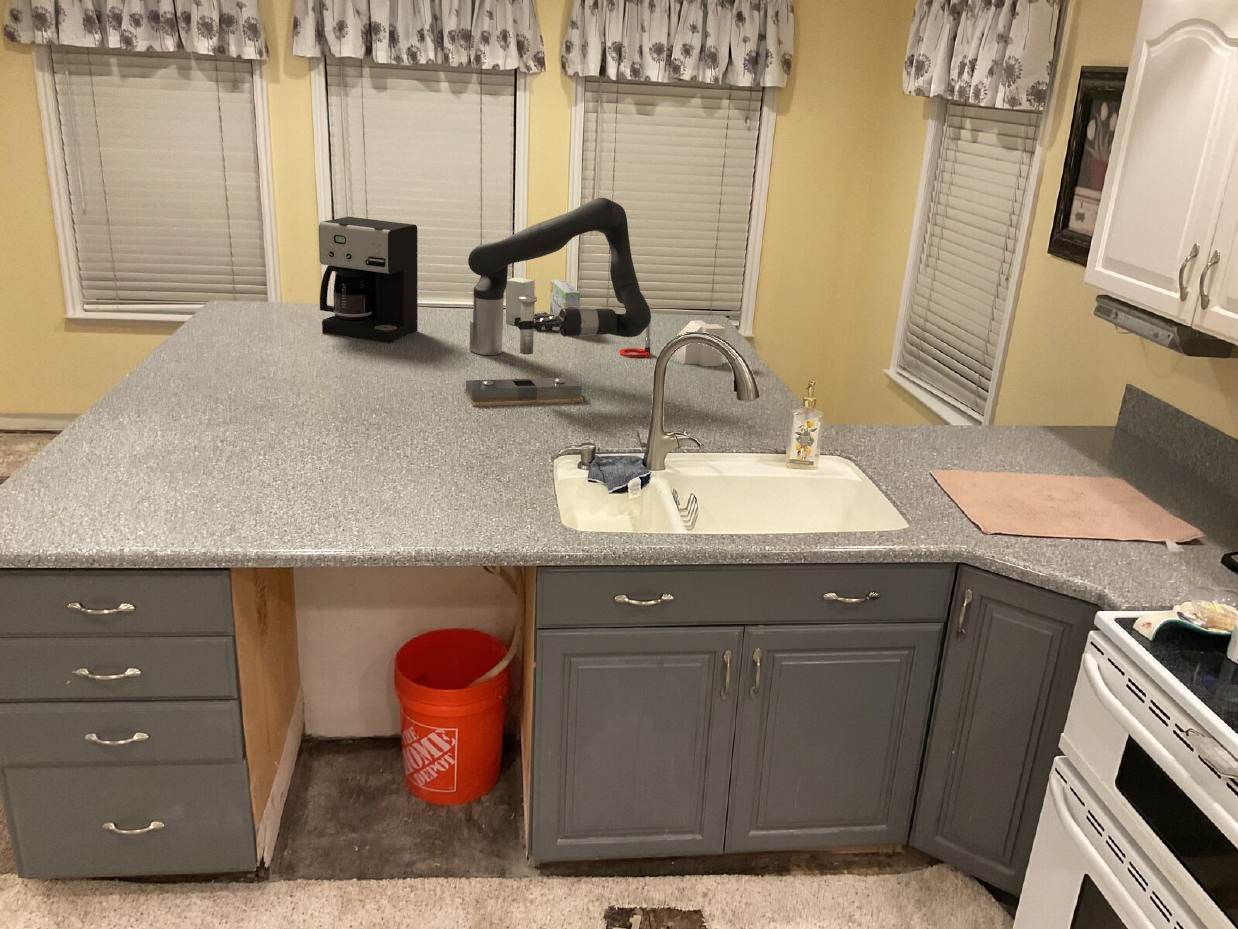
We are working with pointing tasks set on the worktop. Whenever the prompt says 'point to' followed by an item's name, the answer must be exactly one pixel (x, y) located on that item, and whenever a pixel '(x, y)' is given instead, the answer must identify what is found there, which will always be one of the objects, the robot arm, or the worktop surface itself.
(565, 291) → the snack box
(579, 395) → the pin socket base plate
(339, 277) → the coffee maker
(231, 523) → the worktop surface
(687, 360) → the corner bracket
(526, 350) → the steel pin
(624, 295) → the robot arm
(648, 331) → the tow hook
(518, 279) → the skincare box
